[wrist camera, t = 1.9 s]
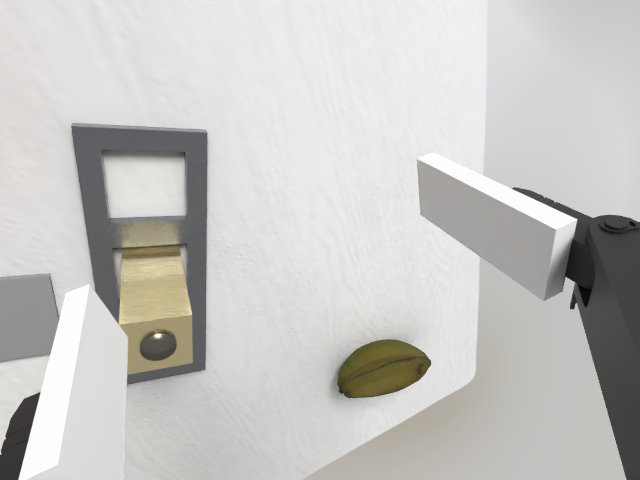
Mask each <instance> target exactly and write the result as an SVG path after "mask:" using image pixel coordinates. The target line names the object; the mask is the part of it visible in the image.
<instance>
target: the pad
mask: <svg viewBox="0 0 640 480" xmlns="http://www.w3.org/2000/svg"><path fill="white" fill-rule="evenodd" d="M58 323H59V316H58V311H57V306H56V301H55V297H54V292H53V287H52V282H51V277H50V274H38V275H26V276H13V277H1V278H0V361H7V360H13V359H20V358H27V357H33V356H40V355H46V354H51V351H52V347H53V343H54V339H55V335H56V331H57V327H58Z"/></svg>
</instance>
